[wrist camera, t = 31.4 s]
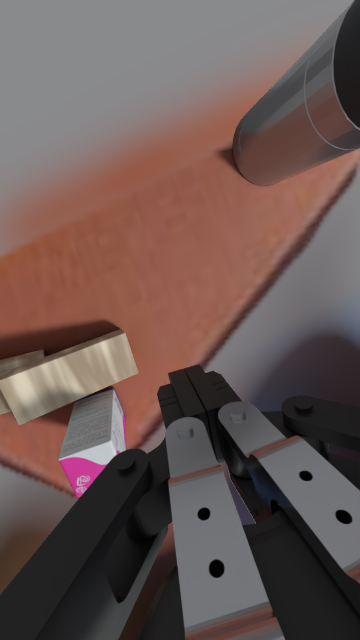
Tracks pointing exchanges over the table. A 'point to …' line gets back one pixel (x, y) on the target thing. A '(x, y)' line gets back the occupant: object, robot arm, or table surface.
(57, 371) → the tan flat rectangular block
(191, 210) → the table surface
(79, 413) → the supplement box
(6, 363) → the tile
